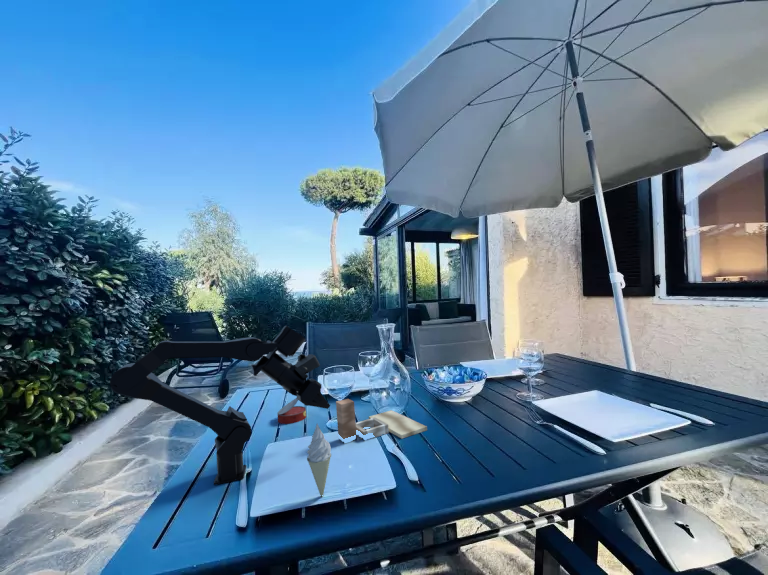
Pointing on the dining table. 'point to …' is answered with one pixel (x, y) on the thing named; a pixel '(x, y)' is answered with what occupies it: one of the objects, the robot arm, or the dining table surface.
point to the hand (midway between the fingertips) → (323, 403)
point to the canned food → (291, 413)
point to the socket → (390, 425)
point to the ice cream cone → (319, 458)
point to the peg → (346, 418)
